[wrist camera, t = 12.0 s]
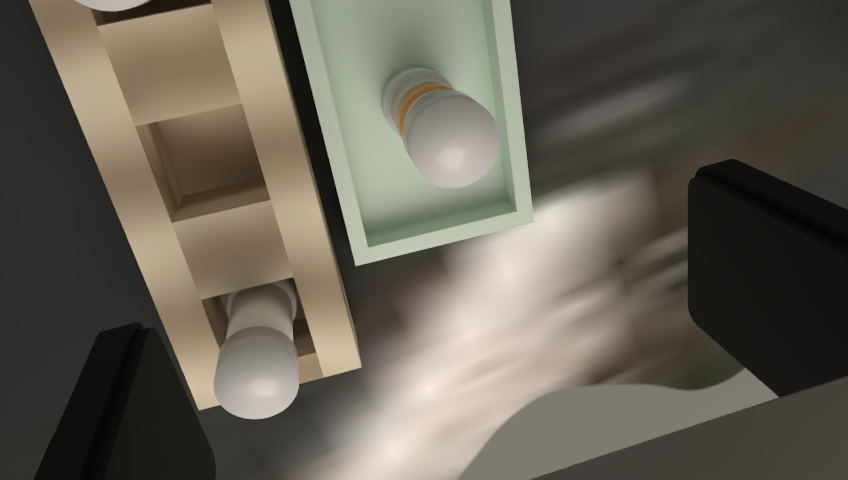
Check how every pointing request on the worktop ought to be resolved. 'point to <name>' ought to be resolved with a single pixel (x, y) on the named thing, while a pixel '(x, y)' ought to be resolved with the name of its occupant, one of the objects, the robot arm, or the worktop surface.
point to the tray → (379, 145)
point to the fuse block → (205, 169)
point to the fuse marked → (440, 127)
